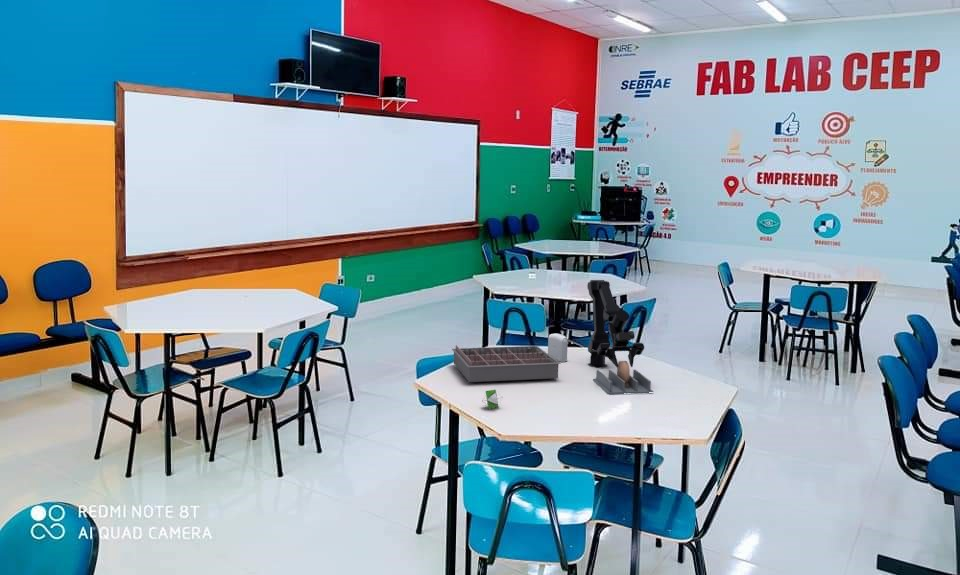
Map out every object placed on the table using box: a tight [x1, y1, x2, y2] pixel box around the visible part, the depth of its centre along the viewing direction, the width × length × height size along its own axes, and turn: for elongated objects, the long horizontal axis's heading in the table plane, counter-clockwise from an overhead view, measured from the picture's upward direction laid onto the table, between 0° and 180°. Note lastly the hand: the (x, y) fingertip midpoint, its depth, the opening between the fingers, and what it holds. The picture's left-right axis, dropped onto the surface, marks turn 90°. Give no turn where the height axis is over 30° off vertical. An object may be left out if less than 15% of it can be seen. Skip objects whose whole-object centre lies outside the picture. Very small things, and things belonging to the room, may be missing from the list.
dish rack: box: [592, 369, 654, 395], centre depth 311 cm, size 20×19×5 cm
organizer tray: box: [451, 344, 562, 383], centre depth 328 cm, size 32×40×10 cm
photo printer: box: [547, 333, 569, 363], centre depth 353 cm, size 10×4×12 cm, turn 39°
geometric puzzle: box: [483, 389, 504, 409], centre depth 280 cm, size 7×7×8 cm
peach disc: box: [616, 360, 631, 387], centre depth 311 cm, size 9×3×10 cm, turn 9°
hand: (624, 366), depth 309 cm, fingers open, 6 cm apart
